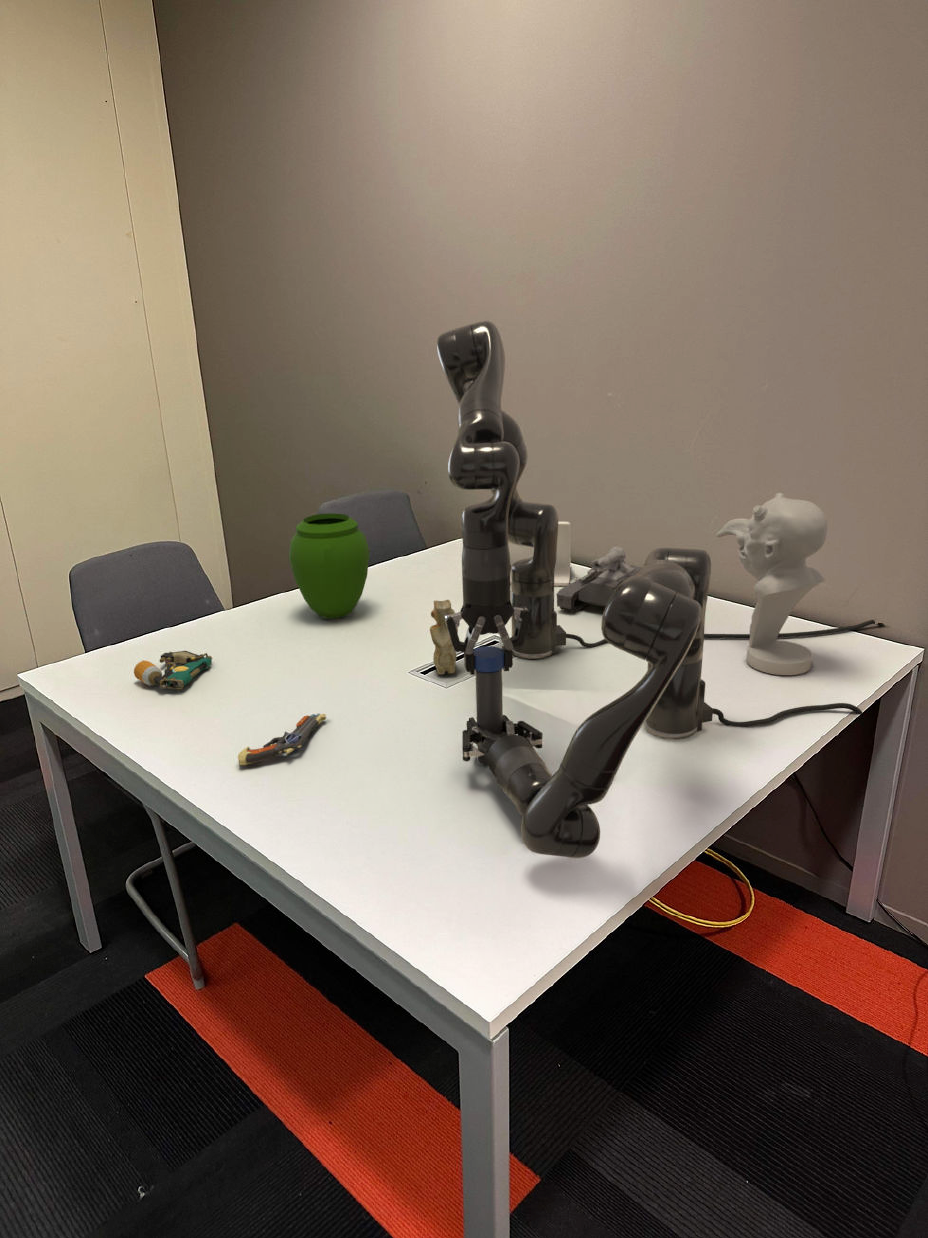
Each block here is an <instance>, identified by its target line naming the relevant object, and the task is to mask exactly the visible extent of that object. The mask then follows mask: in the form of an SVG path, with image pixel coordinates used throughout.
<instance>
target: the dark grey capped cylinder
mask: <svg viewBox="0 0 928 1238" xmlns="http://www.w3.org/2000/svg"><path fill="white" fill-rule="evenodd" d="M503 705H504V703H503V669H501V670H499V671H496V672H480V671H477V670H475V706H476V707H475V708H476V722H477V724H478V725H479V728H481V729H482V730H485V729H486V730H488V731H489V732H491V733H492V734H500V733H503V715H504V714H503V713H504V712H503V710H504V708H503V707H504V706H503ZM476 748H478V749H479V746H478V745H476ZM477 762H478V764H480V765H482V766H485V767H488V765H487V763H486V761H484V760H482V759H481V758H480V757H479V756H478V757H477Z"/></svg>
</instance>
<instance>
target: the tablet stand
mask: <svg viewBox="0 0 928 1238" xmlns="http://www.w3.org/2000/svg"><path fill="white" fill-rule="evenodd" d="M508 546H509V553H510V564H511V567H512V565H513V563H515V562H516V561H519V560H522V559H526V558H530V557H533V552H534V547H527V546H520V545H515V544H512V543H510V542H509V541H508ZM571 560H572V558H571V522H569V521H558V538H557V556H556V565H555V571H554V587H556V586H557V587H566V586H567V585H569V584H570V580H571V579H570V578H571V565H572V564H571ZM510 582H511V571H510Z"/></svg>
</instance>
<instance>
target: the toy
mask: <svg viewBox="0 0 928 1238" xmlns="http://www.w3.org/2000/svg"><path fill="white" fill-rule="evenodd" d="M626 557H627V556H626V551H625V549H624V548H622V547H621V546H614V547H612V548H611V549H610V550H609V552H608V553H607V554H605V555H604V556H601V557H599V558H598V559H597V557H596V558H594V559H593V560H592V561H590V562H589V563H590V564H591V565H592V567H591V568H590V569H589V570H587V573H586V575H584V576H582V577H580V578H578V579H577V580H575V581H573V582H570V583H569V585H567V586H563V587H562V588H560V589H559V590H558V591H557V592H556V607H558V608H559V609H560V610H562V611H566V612H572V613H575V612H577V611H579V610H581V609H582V608H585V607H586V606H588V605H592V606H598V607H602V608H603V607H604V608H605V607H606V605H607V603H608V601H609V599H610V597H611V596H612V594H613V593H614V591H615V590H616V589H617V587H618V586H619V585H620V584H621V583H622V582H623V581H624V580H626V579H627V578H629V577H631V576H633V575H636V574H637V573H638V572H639V571H640V570H641V569H642V568H643V567H641V566H635V565H629V564H628V563H627V562H626V561H625V559H626Z"/></svg>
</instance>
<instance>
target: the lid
mask: <svg viewBox="0 0 928 1238" xmlns="http://www.w3.org/2000/svg"><path fill="white" fill-rule="evenodd" d="M473 653H474V659H475V670H477V671H480V672H496V671H499V670H501V669H502V670H503V668H504V651H503V650H502V647H497V646H493V645H491V646H490V645H487V646H485V645H484V646H479V647H477V648H474V650H473Z"/></svg>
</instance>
